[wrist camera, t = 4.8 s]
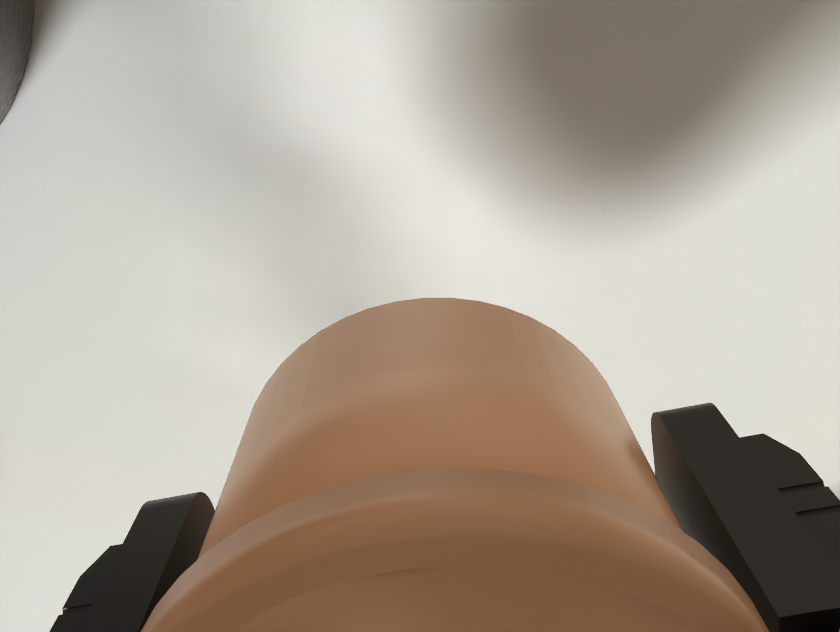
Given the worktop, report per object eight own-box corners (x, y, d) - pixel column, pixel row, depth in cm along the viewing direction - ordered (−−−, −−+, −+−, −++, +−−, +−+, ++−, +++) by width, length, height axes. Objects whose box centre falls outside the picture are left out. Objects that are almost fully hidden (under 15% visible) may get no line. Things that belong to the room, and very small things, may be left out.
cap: (626, 238, 10) (827, 466, 5) (662, 602, 12) (823, 987, 7) (165, 327, 10) (-39, 615, 5) (285, 664, 12) (213, 1066, 8)
